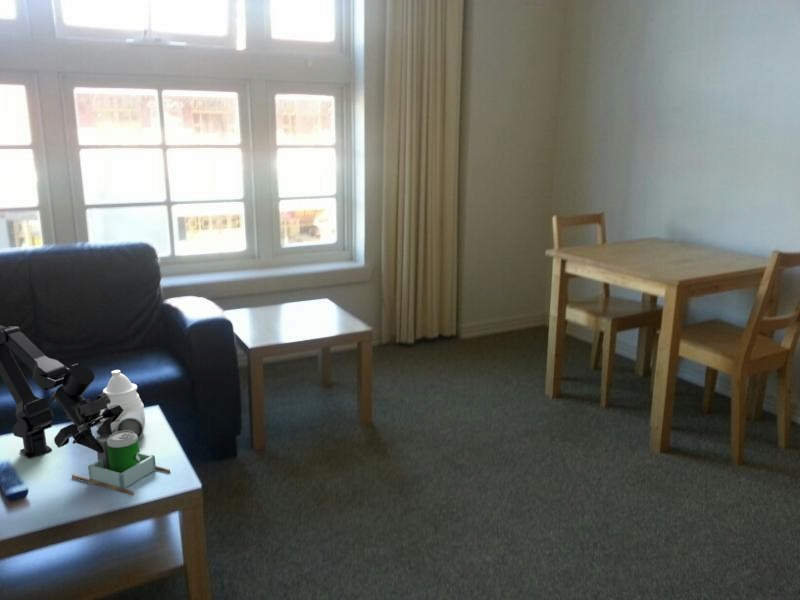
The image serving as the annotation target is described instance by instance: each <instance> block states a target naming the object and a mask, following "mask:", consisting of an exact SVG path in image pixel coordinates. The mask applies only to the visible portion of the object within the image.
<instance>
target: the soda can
mask: <svg viewBox="0 0 800 600" xmlns="http://www.w3.org/2000/svg"><path fill="white" fill-rule="evenodd" d="M107 447H108V455H109V463H110V470H111V471H115V472H119V473H122V472H124V471H125V470H127V469H129V468H131V467H133V466H134V465H136V464H138V463H140V453H139V452H140V443H139V439H138V436H137V435H136V434H135V433H134V432H132V431H128V430H125V431H119V432H115V433H113V434H112V435H111V436H110V437H109V438H108V440H107Z"/></svg>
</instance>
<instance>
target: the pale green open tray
mask: <svg viewBox="0 0 800 600" xmlns="http://www.w3.org/2000/svg"><path fill="white" fill-rule="evenodd" d="M110 436H111V435H109V434H104V435H102V436H100V435H99V436H98V437H95V439H96V440H97V441H98V443H99V444H100V445H101V447H102V448H103V450H104V452H103V453H102V454H101V453H99V452H97V451H96V454H97V461H96V462H93V463H91V464H89V465H88V466H87V469H88V475H89V476H88V477H89V478H88V479H91V480H95V481H98V482H102V483H105V484H109V485H112V486H116V487H119V488H123V489H126V488H128V487H129V486H131V485H132V484H134V483H135V482H137V481H139V480H140V479H142V478H144V477H145V476H147V475H149V474H150V473H152V472H154V471H157V470H156V466H157V465H156V457H155V455H153V454H149V453H146V452H141V451H139V453H140V463H138V464H136V465H134V466H133V467H131V468H129V469H127V470H125V471H124V472H122V473H119V472H115V471H111V470H110V463H109V455H108V447H107V440H108V438H109V437H110Z"/></svg>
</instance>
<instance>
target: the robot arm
mask: <svg viewBox="0 0 800 600" xmlns="http://www.w3.org/2000/svg"><path fill="white" fill-rule="evenodd" d="M11 351H12V352H13V353H14V354H15V355H16V356H17V358H18V359H20V361H22V362H23V364H25V366H27V367H28V368H29V369H30V371H31V372H32V380H33V381H35V383H36V384H37V386H38V387H39V388H40V389H41V390H43V391H50V390H53V389H56V388H57V389H56V390H55V391H52V392H50V394H51V397H50V403H52V404H53V403H55V402H57V404H58V405H59V407H60V408H61V409H62V410H63V411H64V413H65V414H64V418H65V419H66V420H68V419H69V420H70V421H71V422H72V423H70V424H68V425H66V426H65V427H62V428H60V429H59V431H58V432H57V434H56V435H55V437H54V440H53V442H54V444H55V445H56V447H57V448H63V447H64V446H66V445H68V444H69V443H70V438H73V441H72V444H74V445H75V444H78V445H80V446H83V447H86V448H89V449H90V450H93V451H95V452H96V453H97V452H99V453H101V454H102V453H103V452H104V450H103V448H102V447H101V445H100V444H99V443H98V441H97V440H96V437H95V436H94V435H93V431H92V428H94V427H96V428H97V430H96V433H97V434H98V436H99V437H100V436H102V435H104V434H109V435H112V431H111V423H112V422H114V421H115V420H116V419H117V418H118V417H119V416H120V415H121V413H122V412H123V411H124V410H123V409H122V407H121V406H120V405H117V404H115V405H113V406H111V407H109V408H108V407H107V404H109V403H110V399H109V397H108V396H107V395H106V393H103V392H102V393H101V394H99V395H97V396H96V400H93V401H91V399H89V398H86V399H85V397H84V396H83V394H85V392H86V391H87V390H88V389H89V387H90V386H91V384H92V383H93V382H94V381H95V374H94V371H93V370H92V369H89V368H88V367H85V366H80V364H79V363H75V364H72V365H70V367H67V366H65V364H63V363H61V362H60V361H59V360H58V359H54V358H50V357H48V356H46V355H45V354H44V353H43V352H42V351H41V350H40V349H39V348H38V347H37V346H36V345H35V344H34V343H33V342H32V341H31V340H30V339H29V338H28V337H27V336H26V335H25V334H24V333H23V331H22V329H21V328H20V327H19V326H16V325H14V326H4V325H1V324H0V377H1V378H2V380H3V382H4V384H5V386H6V388H7V389H8V392H9V393H10V395H11V396H12V398H13V401H14V402H15V405H16V407H15V415H14V416H15V418H16V422H15V424H14V426H13V427H12V429H11V430H12V434H13V435H14V437H17V438H21V439H22V442H23V443H22V444H23V449H20V450H19V453H21V454H22V455H23V456H25V458H27V459H30V458H33V457H37V456H40V455H43V454H45V453H46V454H47V453H49V452H52V451H53V449H52V447H50V446H49V445H47V437H46V432H45V431H46V430H47V429H51V428H52V426H53V420H54V419H53V418H54V413H53V410H52V407H50V405H49V403H48V400H47V399H46V398H45V397H41V398H40V397H38V396H37V395H35V394H34V392H33V390H32V389H31V386H30V385H29V383H28V381H27V379H26V378H25V376H24V373H23V372H22V370H21V367H19V364H18V363H17V361H16V359H15V357H14V356H13V353H12V352H11ZM102 409H106V410H105V411H104V412H103V413H102V415H101V416H100V413H101V411H100V410H102Z"/></svg>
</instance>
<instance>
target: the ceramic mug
mask: <svg viewBox="0 0 800 600" xmlns="http://www.w3.org/2000/svg"><path fill="white" fill-rule="evenodd" d="M145 423H146V420H145V421H144V418H143V416H142V415H141V414H140V413H139V412H136V411H129V412H127V413H125V414H123V415H122V417H121V418H120V420H119V422H118V424H117V427H116V429H114V430H112V434H113V433H115V432H119V431H125V430H128V431H132V432H134V433H135V434H136V435H137V436H138V440H140V439H141V437H142V436H143V434H144V429H145Z"/></svg>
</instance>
